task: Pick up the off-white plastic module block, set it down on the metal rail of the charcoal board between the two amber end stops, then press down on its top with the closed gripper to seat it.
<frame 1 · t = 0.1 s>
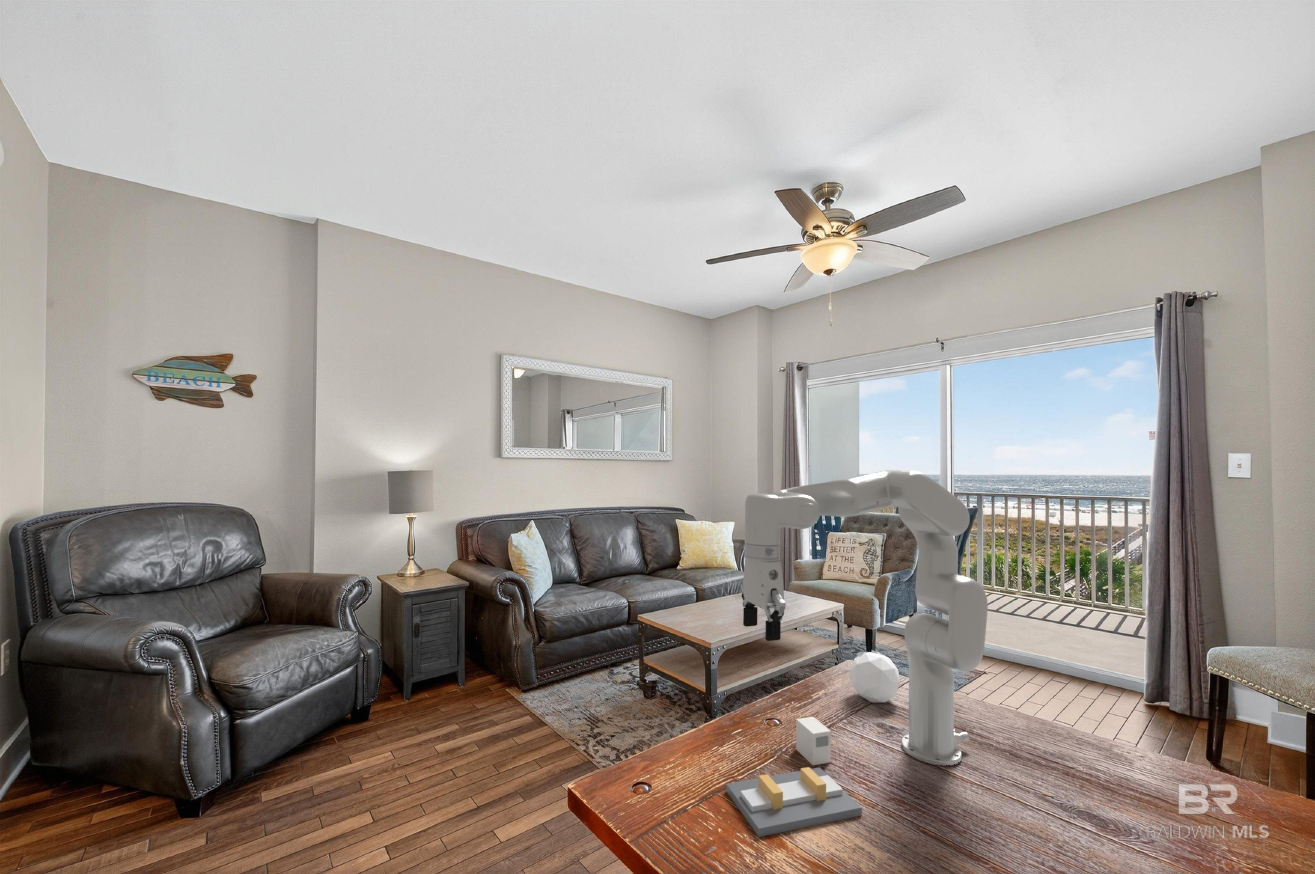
hand: (761, 632, 116), 31 cm above the table, tool pointing down, fingers open, 9 cm apart
geodesic sphere: (874, 700, 156), on the table
rail board: (791, 802, 108), on the table
module: (812, 755, 126), on the table
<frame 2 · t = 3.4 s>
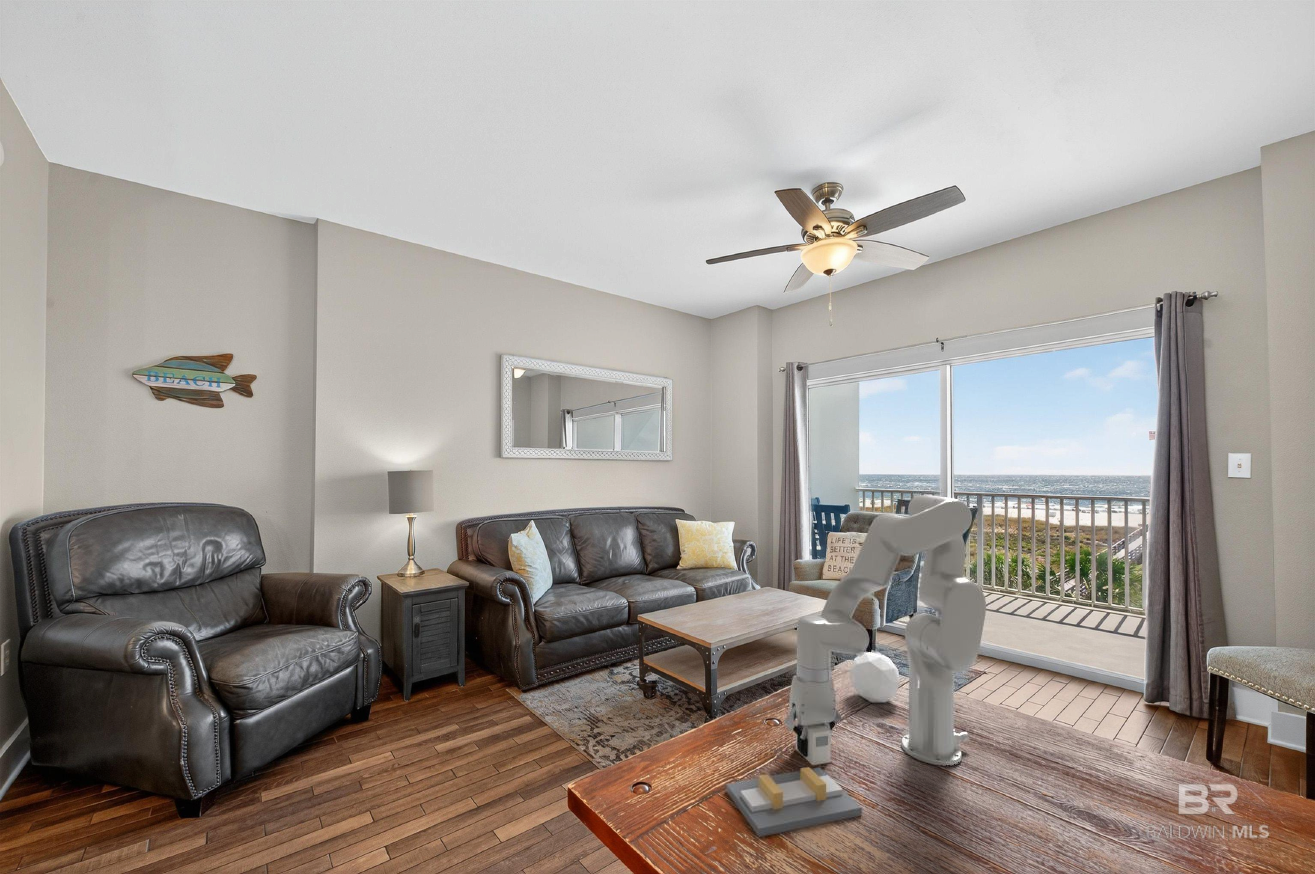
hand: (812, 751, 126), 1 cm above the table, tool pointing down, fingers closed on module, 4 cm apart
module: (812, 755, 126), on the table, touching gripper
everything else where it was.
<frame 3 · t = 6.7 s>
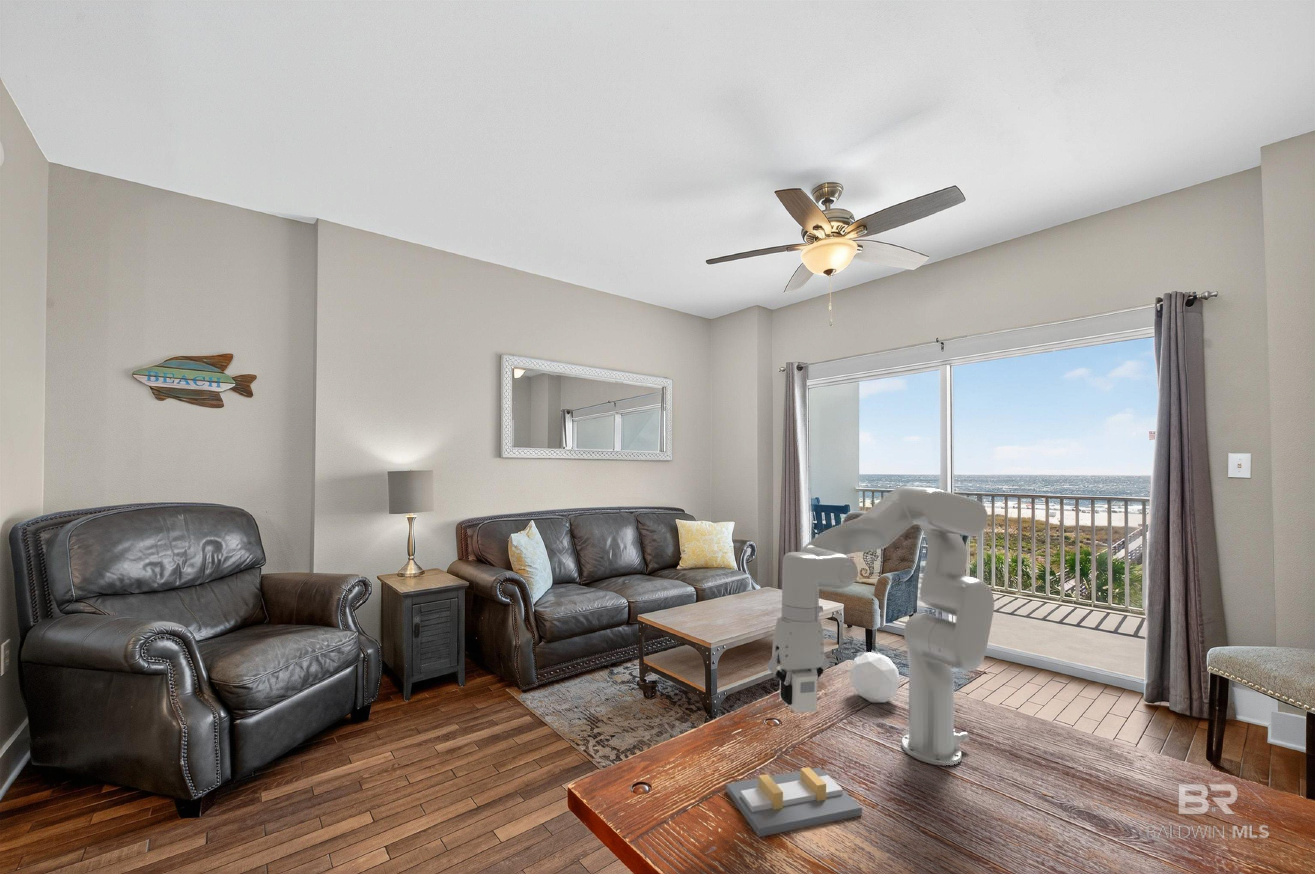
hand: (797, 700, 114), 18 cm above the table, tool pointing down, fingers closed on module, 4 cm apart
module: (797, 704, 114), point 17 cm above the table, touching gripper
everything else where it was.
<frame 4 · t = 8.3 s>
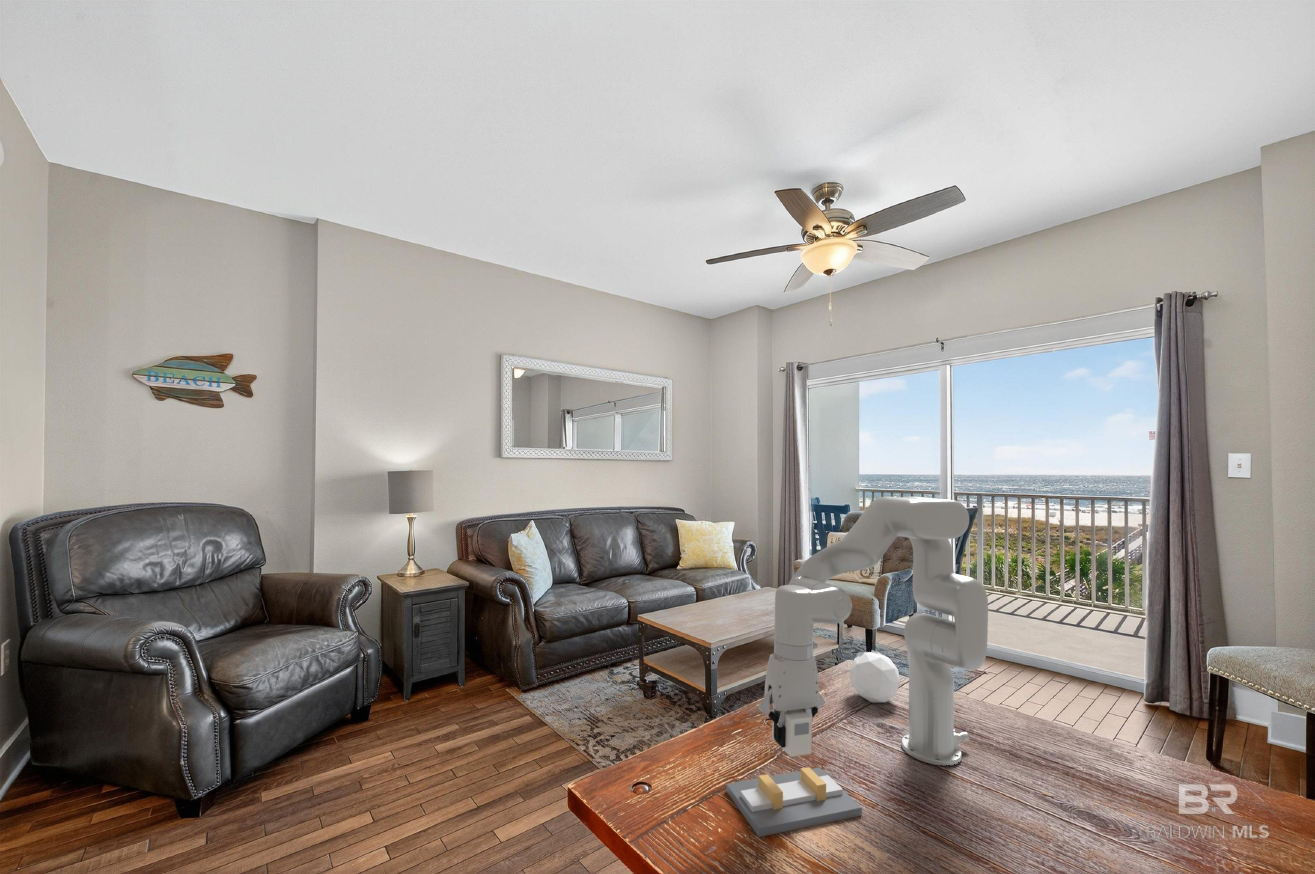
hand: (791, 741, 108), 12 cm above the table, tool pointing down, fingers closed on module, 4 cm apart
module: (791, 745, 108), point 11 cm above the table, touching gripper
everything else where it was.
when the fingers open (5 cm above the table, at t = 9.9 s): module drops 1 cm, resting on rail board.
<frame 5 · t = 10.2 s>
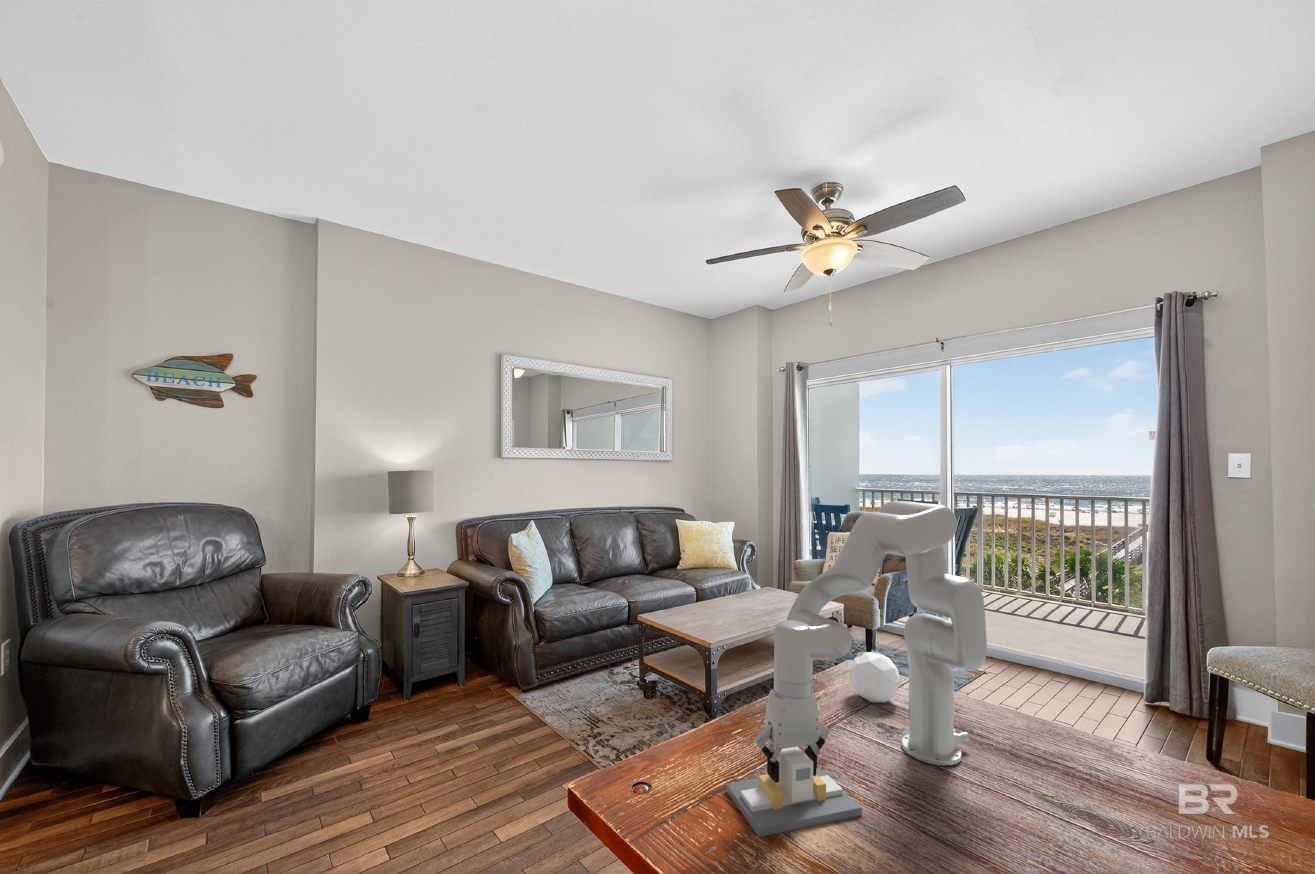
hand: (792, 774, 108), 5 cm above the table, tool pointing down, fingers open, 7 cm apart
module: (792, 789, 108), point 2 cm above the table, touching rail board
everything else where it was.
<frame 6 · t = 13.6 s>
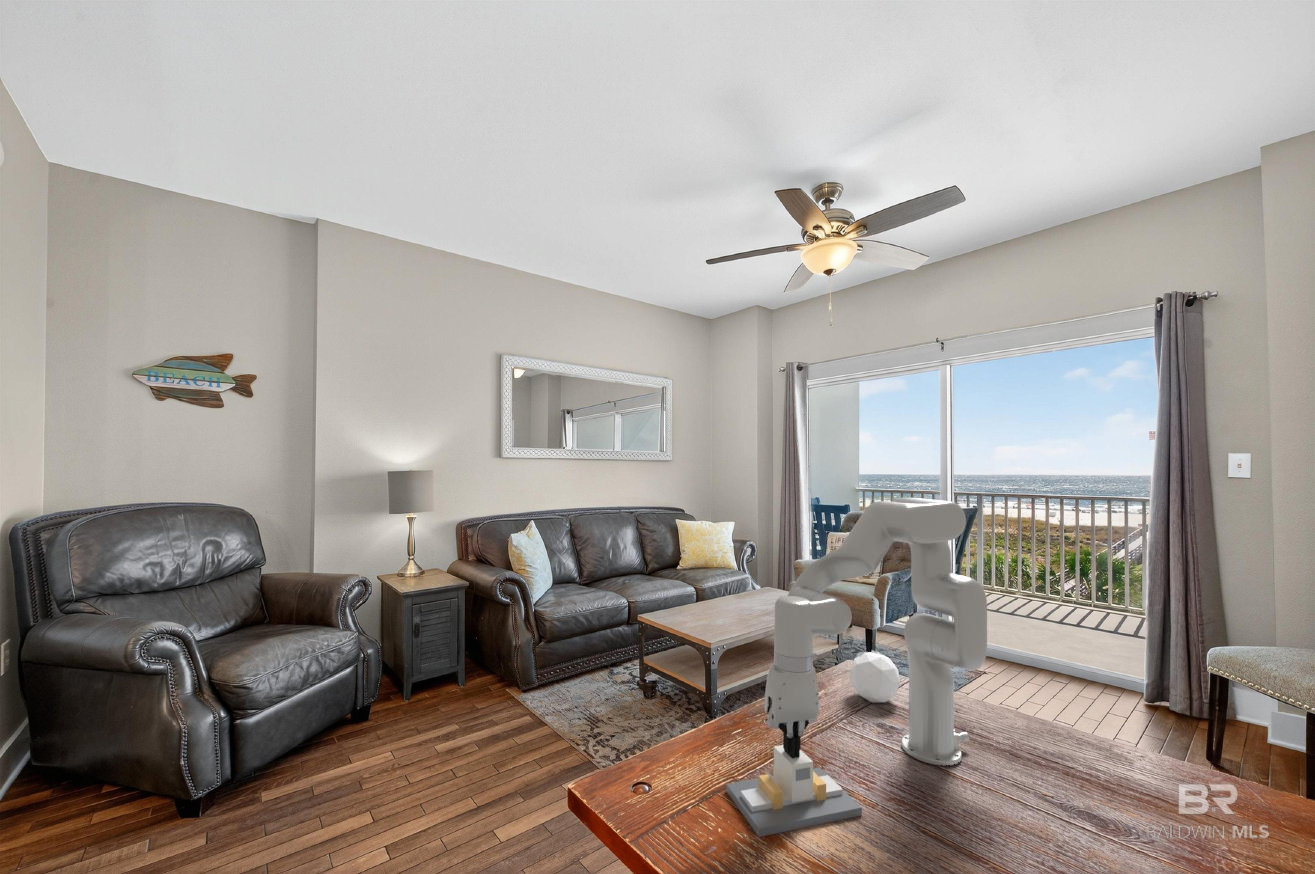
hand: (791, 754, 108), 10 cm above the table, tool pointing down, fingers closed
module: (792, 789, 108), point 3 cm above the table, touching gripper, rail board
everything else where it was.
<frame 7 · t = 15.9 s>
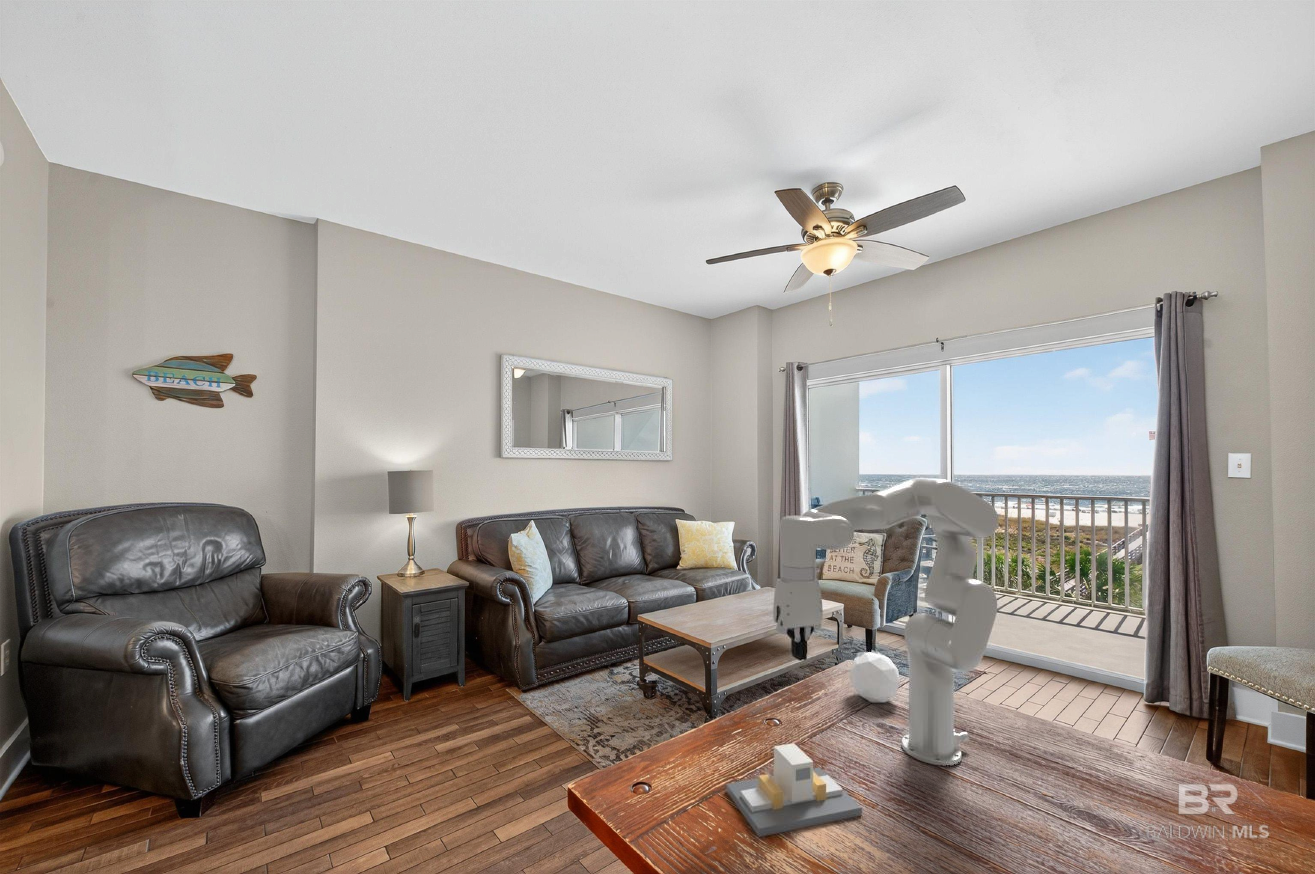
hand: (799, 657, 118), 25 cm above the table, tool pointing down, fingers closed
module: (792, 789, 108), point 2 cm above the table, touching rail board
everything else where it was.
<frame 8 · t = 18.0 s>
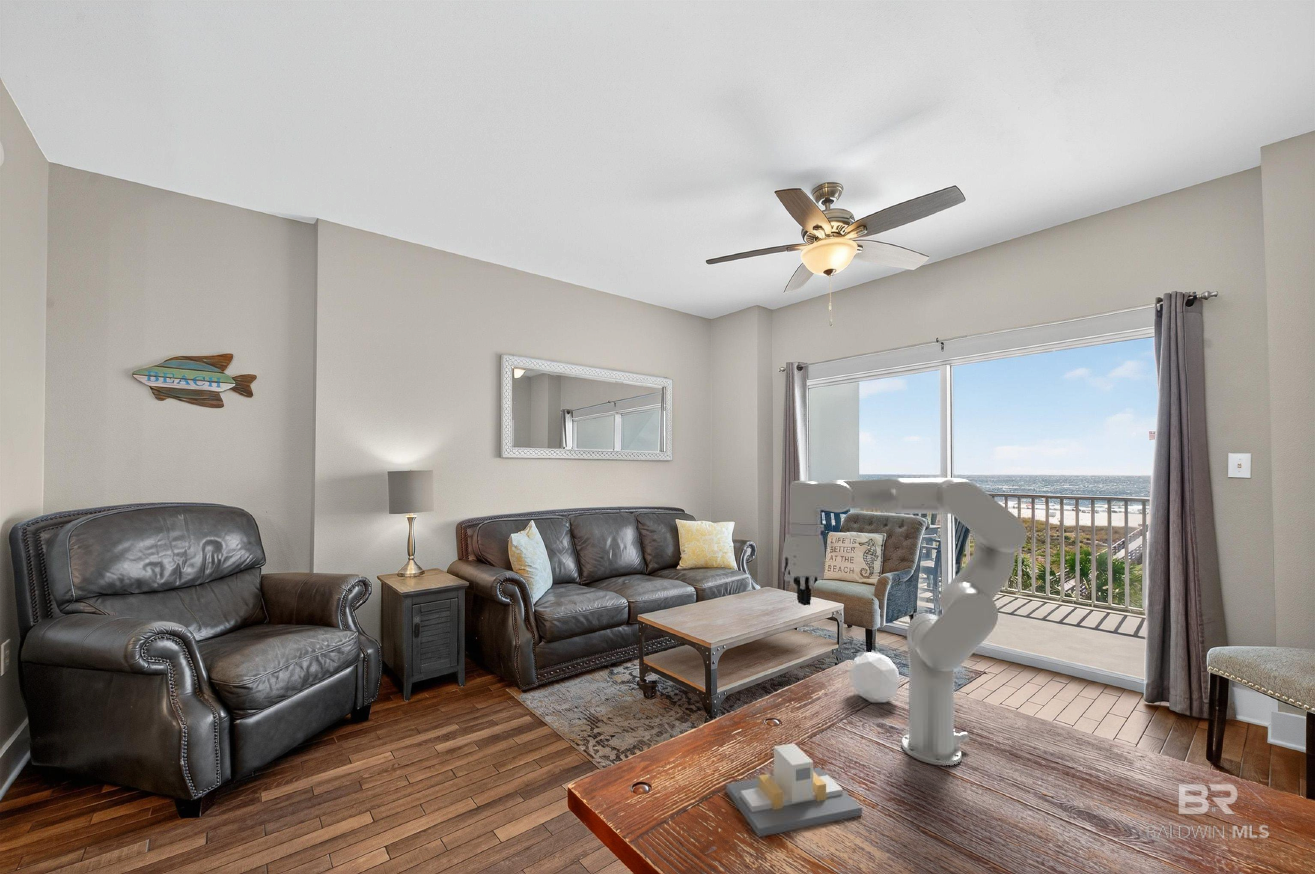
hand: (804, 603, 136), 32 cm above the table, tool pointing down, fingers closed
nothing on the table moved.
at the end: module 0.2 cm off-centre on the rail board, point 2.5 cm above the rail board's base; module tilted 0°; the gripper is holding nothing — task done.
